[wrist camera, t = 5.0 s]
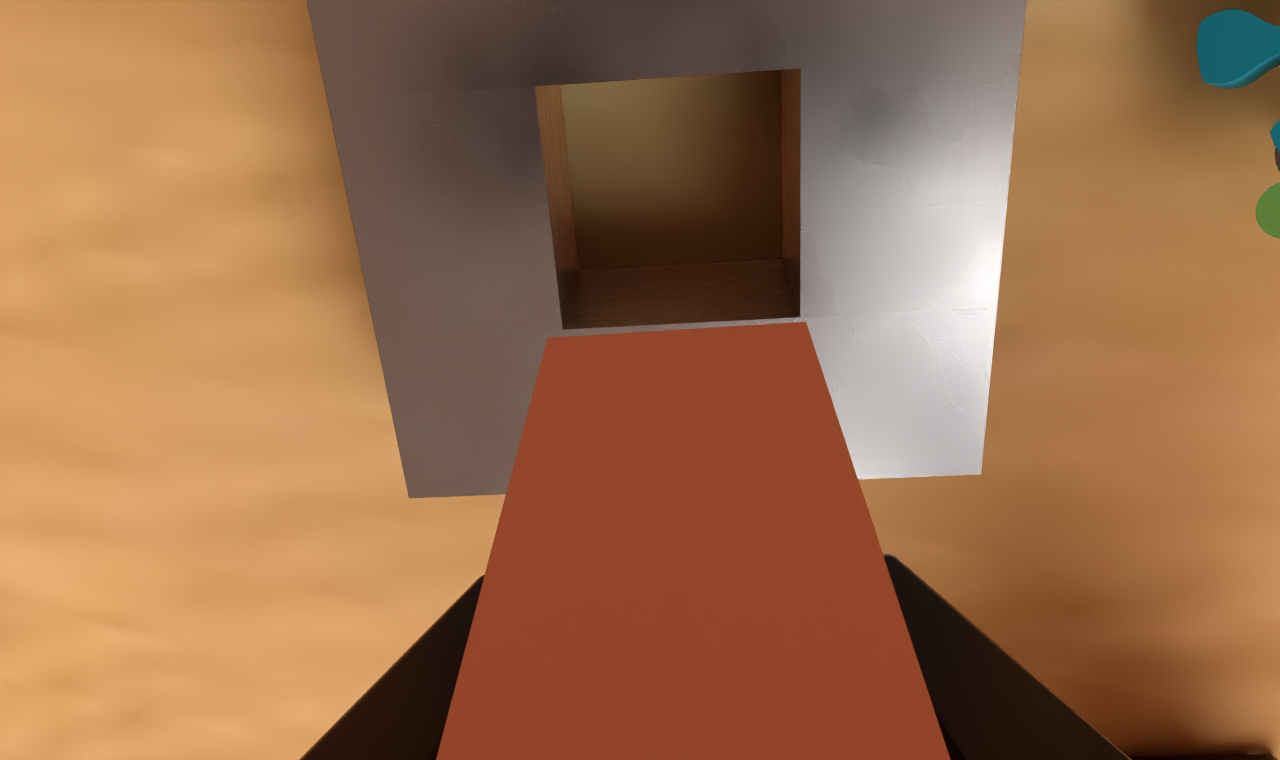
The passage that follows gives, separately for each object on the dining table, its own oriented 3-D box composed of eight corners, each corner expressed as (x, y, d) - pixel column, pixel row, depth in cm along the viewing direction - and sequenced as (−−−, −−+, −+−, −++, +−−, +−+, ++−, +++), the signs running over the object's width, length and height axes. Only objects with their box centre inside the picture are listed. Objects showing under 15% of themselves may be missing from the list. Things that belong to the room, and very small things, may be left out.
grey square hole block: (939, 397, 23) (981, 474, 20) (444, 420, 24) (409, 497, 21) (980, -181, 18) (1045, -202, 15) (345, -129, 19) (278, -137, 15)
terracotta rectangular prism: (806, 535, 12) (1063, 1702, 4) (574, 546, 13) (419, 1691, 5) (806, 321, 11) (1174, 1440, 3) (547, 338, 11) (255, 1438, 3)
